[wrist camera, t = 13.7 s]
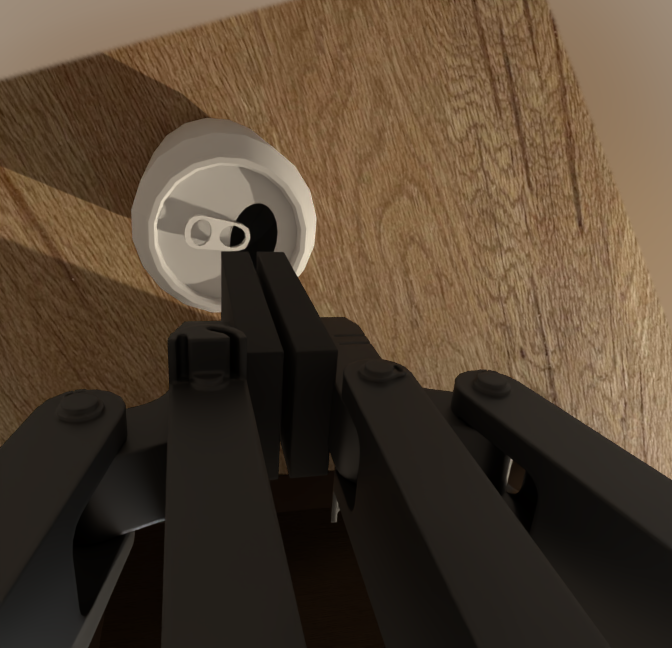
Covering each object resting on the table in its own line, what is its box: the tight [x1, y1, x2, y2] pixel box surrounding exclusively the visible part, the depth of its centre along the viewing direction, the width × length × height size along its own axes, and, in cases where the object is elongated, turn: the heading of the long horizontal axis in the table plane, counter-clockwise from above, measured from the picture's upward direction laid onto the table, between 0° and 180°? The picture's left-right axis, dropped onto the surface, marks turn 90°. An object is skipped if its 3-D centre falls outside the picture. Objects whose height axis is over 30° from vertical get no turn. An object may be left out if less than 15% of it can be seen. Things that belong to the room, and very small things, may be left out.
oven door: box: [88, 460, 525, 648], centre depth 30 cm, size 5×40×26 cm, turn 85°
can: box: [131, 118, 316, 312], centre depth 27 cm, size 8×8×12 cm
